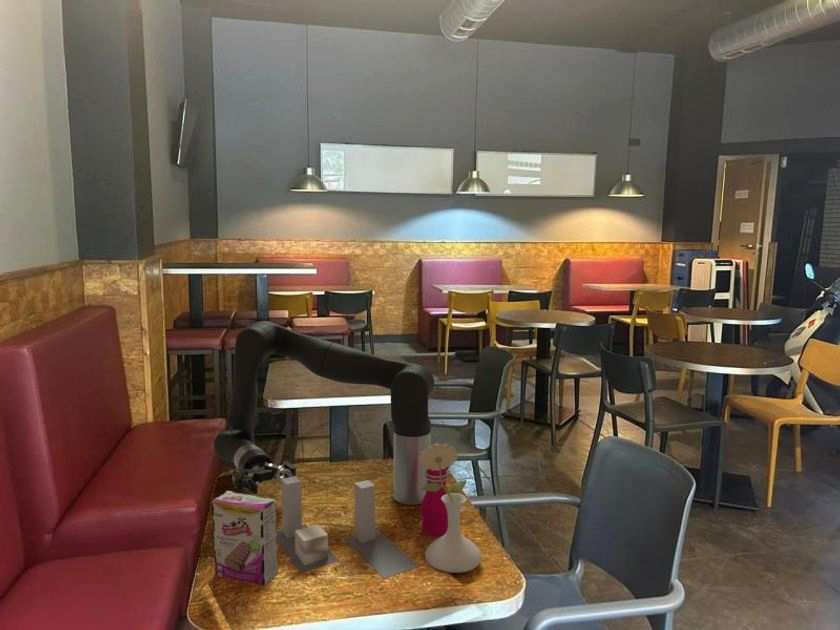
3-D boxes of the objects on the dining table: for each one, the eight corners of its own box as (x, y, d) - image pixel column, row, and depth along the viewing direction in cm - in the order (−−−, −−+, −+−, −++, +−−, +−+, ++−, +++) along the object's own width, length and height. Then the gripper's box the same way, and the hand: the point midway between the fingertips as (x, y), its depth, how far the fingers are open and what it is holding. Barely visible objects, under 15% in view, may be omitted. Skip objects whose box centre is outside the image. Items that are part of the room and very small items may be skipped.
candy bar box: (213, 581, 117) (210, 500, 115) (230, 568, 122) (227, 489, 120) (264, 593, 114) (262, 509, 111) (279, 579, 118) (277, 497, 116)
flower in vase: (483, 551, 129) (486, 436, 125) (478, 582, 118) (481, 456, 114) (421, 545, 131) (422, 432, 128) (411, 575, 120) (412, 451, 117)
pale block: (318, 547, 127) (318, 524, 127) (328, 558, 123) (327, 534, 123) (295, 553, 125) (294, 530, 124) (304, 565, 121) (304, 541, 120)
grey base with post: (376, 533, 136) (375, 476, 134) (419, 571, 121) (419, 508, 119) (342, 542, 132) (342, 484, 130) (383, 584, 117) (383, 518, 115)
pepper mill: (427, 540, 134) (428, 451, 131) (414, 525, 140) (415, 440, 137) (457, 533, 136) (459, 446, 134) (443, 519, 143) (444, 436, 140)
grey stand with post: (305, 528, 138) (304, 472, 136) (339, 566, 123) (338, 503, 121) (270, 538, 133) (268, 480, 132) (301, 578, 118) (299, 513, 116)
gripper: (223, 454, 151) (242, 476, 137) (279, 443, 158) (303, 464, 145) (224, 483, 152) (243, 508, 138) (280, 471, 159) (304, 494, 146)
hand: (274, 486), depth 142 cm, fingers open, 8 cm apart
